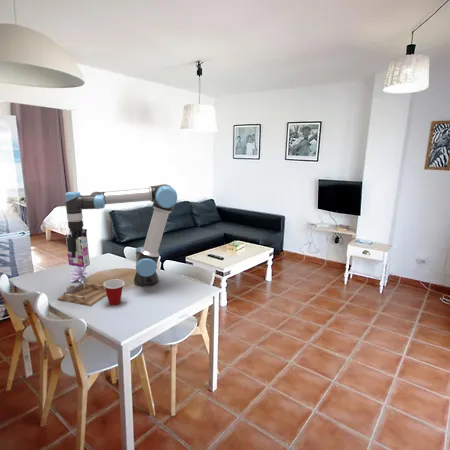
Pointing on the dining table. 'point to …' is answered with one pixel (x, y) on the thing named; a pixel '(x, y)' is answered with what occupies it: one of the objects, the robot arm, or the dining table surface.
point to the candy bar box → (80, 252)
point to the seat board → (83, 294)
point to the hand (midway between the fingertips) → (79, 261)
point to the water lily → (78, 274)
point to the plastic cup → (114, 290)
